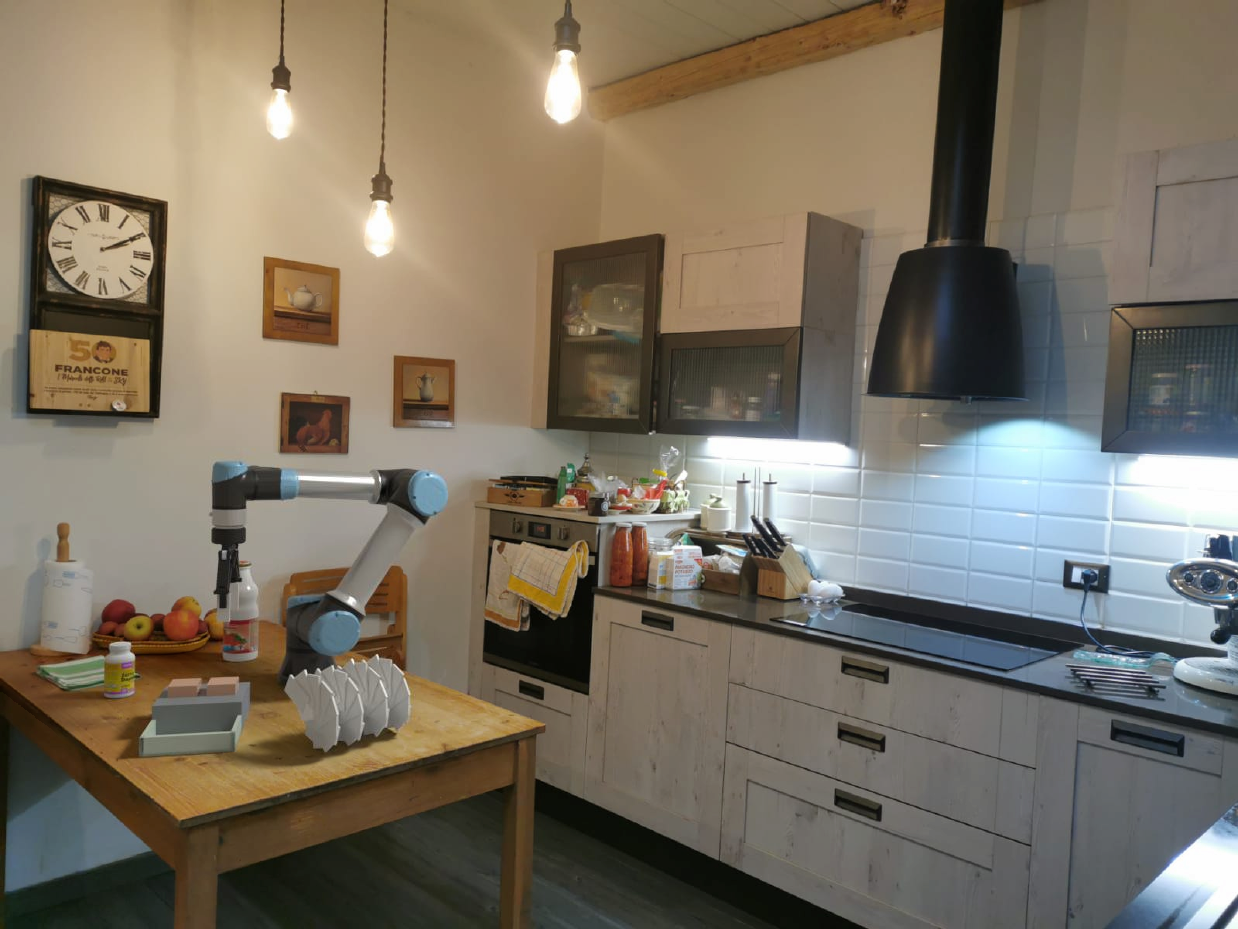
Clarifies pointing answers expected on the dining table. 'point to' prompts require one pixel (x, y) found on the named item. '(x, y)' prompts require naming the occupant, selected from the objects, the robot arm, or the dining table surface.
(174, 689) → the terracotta tile
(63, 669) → the dish towel
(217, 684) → the terracotta tile
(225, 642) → the fruit juice
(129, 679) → the supplement bottle
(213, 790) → the dining table surface
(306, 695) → the spiral staircase
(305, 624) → the robot arm
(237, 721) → the sage tray
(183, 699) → the slate step
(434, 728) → the dining table surface
